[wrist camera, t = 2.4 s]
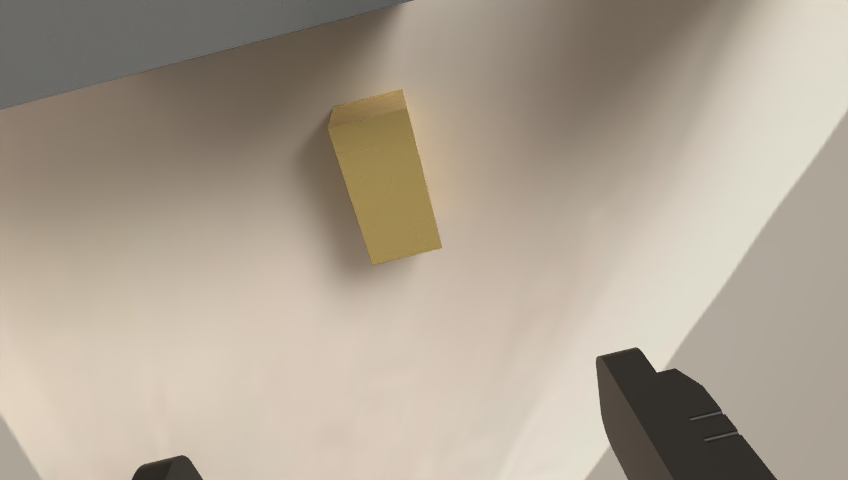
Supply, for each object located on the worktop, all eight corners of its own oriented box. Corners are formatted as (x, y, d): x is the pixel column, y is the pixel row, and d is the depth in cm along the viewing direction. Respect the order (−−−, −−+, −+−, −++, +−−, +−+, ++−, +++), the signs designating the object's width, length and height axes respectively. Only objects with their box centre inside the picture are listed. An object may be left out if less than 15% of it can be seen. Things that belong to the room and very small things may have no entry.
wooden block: (402, 88, 22) (406, 108, 19) (433, 213, 25) (441, 247, 22) (333, 106, 22) (327, 128, 19) (372, 228, 25) (372, 265, 22)
